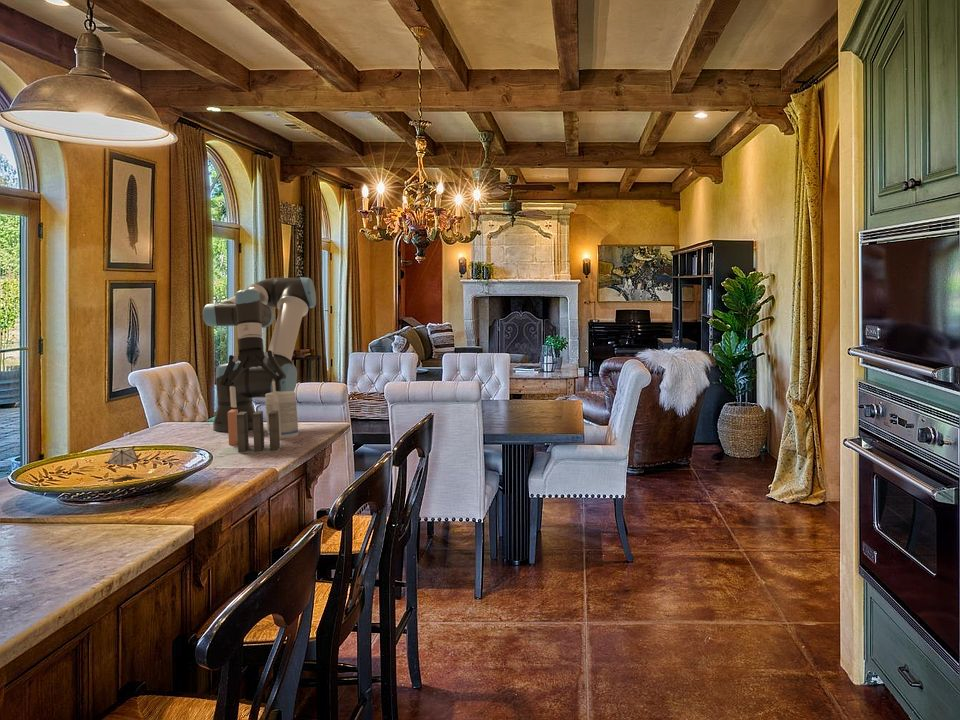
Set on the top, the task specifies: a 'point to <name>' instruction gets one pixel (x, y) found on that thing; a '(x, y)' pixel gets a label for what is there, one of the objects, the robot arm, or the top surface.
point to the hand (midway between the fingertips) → (255, 404)
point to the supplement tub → (283, 413)
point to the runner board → (250, 450)
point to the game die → (123, 456)
